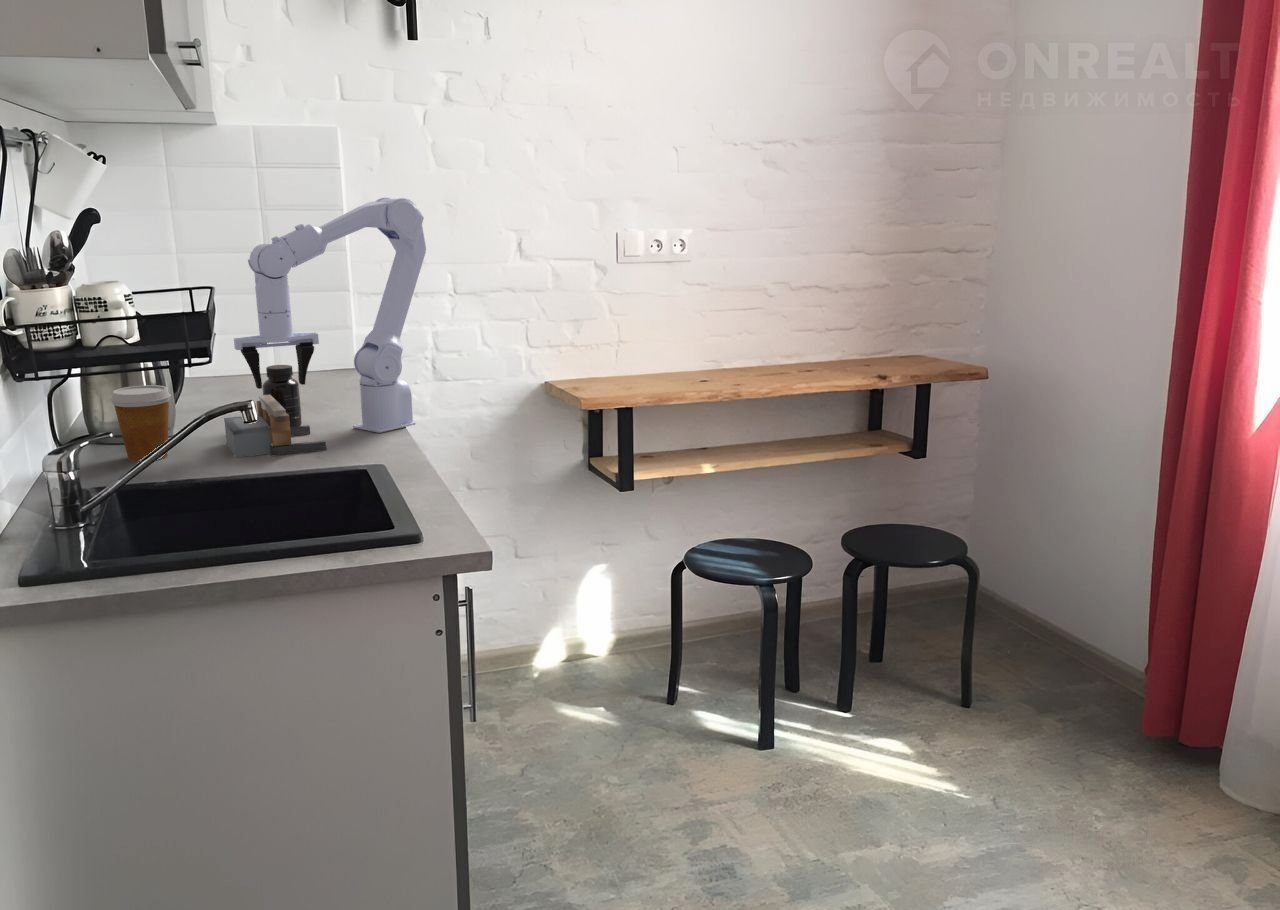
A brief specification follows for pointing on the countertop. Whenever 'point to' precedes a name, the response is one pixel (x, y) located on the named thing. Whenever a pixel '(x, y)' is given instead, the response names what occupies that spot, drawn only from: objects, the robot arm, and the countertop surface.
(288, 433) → the tan piece
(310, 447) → the rail frame
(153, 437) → the disposable coffee cup
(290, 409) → the supplement bottle
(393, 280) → the robot arm
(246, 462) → the countertop surface
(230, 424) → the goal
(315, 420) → the countertop surface
